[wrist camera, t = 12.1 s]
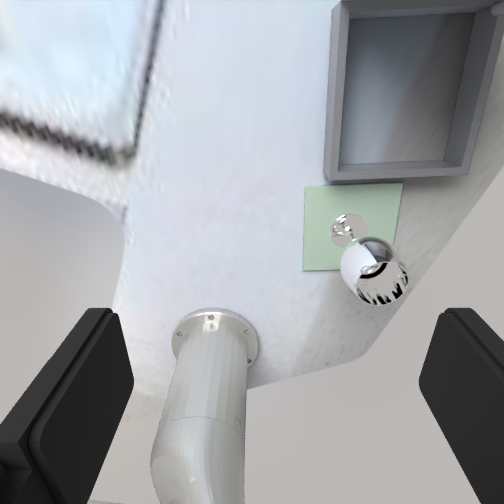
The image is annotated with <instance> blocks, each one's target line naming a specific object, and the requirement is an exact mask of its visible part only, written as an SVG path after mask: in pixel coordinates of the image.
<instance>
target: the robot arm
mask: <svg viewBox="0 0 504 504" xmlns="http://www.w3.org/2000/svg"><path fill="white" fill-rule="evenodd" d="M172 350H173V353H174V355H175V358H176V359H177V363H176V366H175V370H174V373H173V377H172V380H171V384H170V387H169V391H168V394H167V398H166V401H165V405H164V408H163V412H162V416H161V419H160V423H159V426H158V430H157V433H156V437H155V440H154V443H153V447H152V452H151V460H150V467H151V475H152V480H153V484H154V488H155V490H156V493H157V496H158V498H159V501H160V504H245V503H244V461H245V459H244V458H245V422H246V420H245V419H246V389H247V369H248V368H249V367H250V366H251V365H252V364H253V362H254V361H255V359H256V357H257V354H258V337H257V334H256V332H255V330H254V328H253V327H252V326H251V325H250V323H249V322H248V321H246V320H245V319H244V318H242V317H241V316H239V315H237V314H235V313H233V312H229V311H226V310H220V309H206V310H200V311H197V312H194V313H192V314H190V315H188V316H186V317H185V318H184V319H183V320H181V321H180V323H179V324H178V325H177V326H176V329H175V331H174V333H173V337H172ZM133 386H134V377H133V373H132V369H131V365H130V361H129V357H128V352H127V348H126V344H125V340H124V336H123V332H122V328H121V324H120V320H119V316H118V314H117V313H113V311H112V310H111V309H110V308H89V309H88V310H87V311H86V312H85V313H84V314H83V316H82V317H81V318H80V320H79V321H78V322H77V324H76V325H75V326H74V328H73V329H72V331H71V332H70V333H69V335H68V336H67V337H66V338H65V340H64V341H63V343H62V344H61V345H60V347H59V348H58V349H57V351H56V352H55V354H54V355H53V356H52V357H51V358H50V359H49V360H48V362H47V363H46V364H45V366H44V367H43V368H42V369H41V371H40V372H39V374H38V375H37V376H36V377H35V379H34V380H33V381H32V383H31V384H30V386H29V387H28V388H27V390H26V391H25V392H24V394H23V395H22V396H21V398H20V399H19V400H18V402H17V403H16V404H15V406H14V407H13V408H12V410H11V411H10V412H9V414H8V415H7V416H6V418H5V419H4V420H3V422H2V423H1V424H0V504H120V503H112V502H104V501H96V500H89V497H90V495H91V493H92V490H93V488H94V485H95V483H96V480H97V478H98V475H99V472H100V470H101V467H102V465H103V463H104V460H105V457H106V455H107V453H108V450H109V448H110V445H111V442H112V440H113V438H114V435H115V433H116V430H117V428H118V425H119V423H120V420H121V418H122V415H123V413H124V410H125V408H126V405H127V403H128V400H129V398H130V395H131V393H132V390H133ZM419 387H420V390H421V392H422V395H423V396H424V398H425V400H426V402H427V404H428V406H429V408H430V409H431V411H432V413H433V415H434V417H435V419H436V421H437V423H438V424H439V426H440V428H441V430H442V432H443V434H444V436H445V438H446V439H447V441H448V443H449V445H450V447H451V449H452V451H453V452H454V454H455V456H456V458H457V460H458V462H459V464H460V466H461V467H462V469H463V471H464V473H465V475H466V477H467V479H468V480H469V482H470V484H471V486H472V488H473V490H474V492H475V494H476V495H477V497H478V499H479V501H480V503H481V504H504V341H503V340H502V339H501V338H500V337H499V336H498V335H497V334H496V333H495V332H494V331H493V330H492V329H491V328H490V327H489V325H488V324H487V323H486V322H485V321H484V320H483V319H482V318H481V317H480V316H479V315H478V314H477V313H476V312H475V311H474V310H473V309H471V308H448V309H446V310H445V312H444V313H441V314H440V315H439V317H438V320H437V324H436V327H435V330H434V333H433V336H432V339H431V342H430V346H429V349H428V352H427V355H426V358H425V361H424V364H423V368H422V371H421V374H420V377H419Z"/></svg>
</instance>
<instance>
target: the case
mask: <svg viewBox="0 0 504 504" xmlns="http://www.w3.org/2000/svg"><path fill="white" fill-rule="evenodd" d="M468 12H476V13H475V17H474V22H473V27H472V31H471V36H470V41H469V45H468V50H467V54H466V59H465V64H464V68H463V73H462V77H461V82H460V87H459V91H458V96H457V101H456V105H455V110H454V114H453V119H452V124H451V128H450V133H449V138H448V142H447V147H446V151H445V156H444V160H436V161H413V162H390V163H366V164H343V165H338V163H339V150H340V136H341V123H342V109H343V96H344V82H345V69H346V55H347V42H348V28H349V19H361V18H379V17H397V16H415V15H432V14H450V13H468ZM503 32H504V0H341V1H340V2H339V3H338V4H337V5H336V6H335V7H334V8H333V9H332V18H331V37H330V56H329V74H328V93H327V111H326V130H325V149H324V167H323V173H324V174H325V175H326V177H327V178H328V179H329V181H331V180H355V179H379V178H403V177H427V176H451V175H467V174H468V170H469V166H470V162H471V158H472V155H473V151H474V147H475V143H476V139H477V135H478V131H479V127H480V123H481V119H482V115H483V111H484V107H485V103H486V99H487V95H488V92H489V88H490V84H491V80H492V76H493V72H494V68H495V64H496V60H497V56H498V52H499V48H500V44H501V40H502V36H503Z"/></svg>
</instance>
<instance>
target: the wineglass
mask: <svg viewBox="0 0 504 504" xmlns="http://www.w3.org/2000/svg"><path fill="white" fill-rule="evenodd" d="M366 233H367V225H366V222H365V220H364V219H363V218H362V217H360V216H359V215H356V214H345V215H342V216H340V217H339V218H337V219H336V220H335V221H334V222H333V224H332V226H331V228H330V237H331V240H332V241H333V242H334V243H335V244H336V245H337V246H340V247H344V250H343V251H342V253H341V256H340V272H341V275H342V277H343V279H344V281H345V283H346V284H347V286H348V287H349V288H350V289H351V291H352V292H353V293H354V294H355V295H356V296H357V297H358V298H360V299H361V300H362V301H363V302H365V303H367V304H369V305H374V306H382V305H387V304H390V303H392V302H394V301H396V300H397V299H399V298H400V297H401V296H402V295H403V294H404V293H405V291H406V289H407V287H408V283H409V276H408V272H407V268H406V265H405V263H404V260H403V258H402V256H401V255H400V253H399V251H398V250H397V249H396V248H395V246H394V245H393V244H392V243H390V242H389V241H387V240H386V239H384V238H382V237H379V236H374V235H366ZM365 235H366V236H365Z"/></svg>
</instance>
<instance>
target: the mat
mask: <svg viewBox="0 0 504 504" xmlns="http://www.w3.org/2000/svg"><path fill="white" fill-rule="evenodd" d="M402 187H403V183H402V182H396V183H372V184H348V185H324V186H305V205H304V240H303V271H307V270H336V269H340V256H341V253H342V251H343V250H344V247H340V246H337V245H336V244H335V243H334V242H333V241H332V240H331V237H330V228H331V226H332V224H333V222H334V221H335V220H336V219H337V218H339V217H340V216H342V215H345V214H356V215H359V216H360V217H362V218H363V219H364V220H365V222H366V225H367V233H366V235H374V236H379V237H382V238H384V239H386V240H387V241H389V242H390V243H392V244H393V241H394V235H395V229H396V223H397V217H398V211H399V205H400V199H401V193H402ZM366 235H365V236H366Z"/></svg>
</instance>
